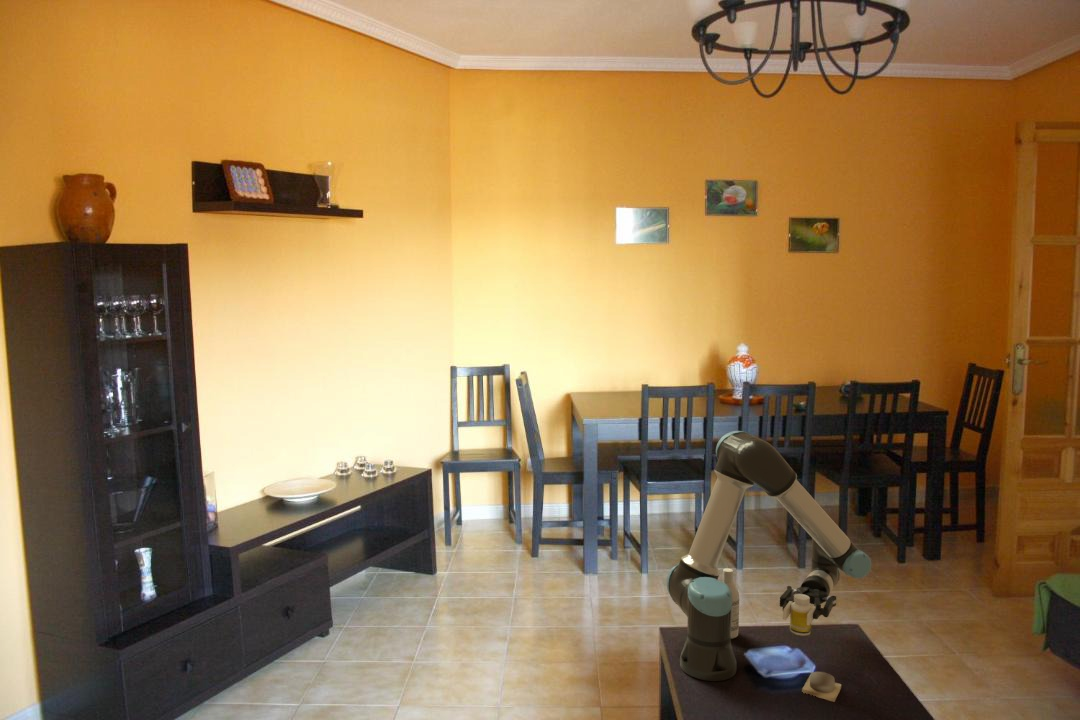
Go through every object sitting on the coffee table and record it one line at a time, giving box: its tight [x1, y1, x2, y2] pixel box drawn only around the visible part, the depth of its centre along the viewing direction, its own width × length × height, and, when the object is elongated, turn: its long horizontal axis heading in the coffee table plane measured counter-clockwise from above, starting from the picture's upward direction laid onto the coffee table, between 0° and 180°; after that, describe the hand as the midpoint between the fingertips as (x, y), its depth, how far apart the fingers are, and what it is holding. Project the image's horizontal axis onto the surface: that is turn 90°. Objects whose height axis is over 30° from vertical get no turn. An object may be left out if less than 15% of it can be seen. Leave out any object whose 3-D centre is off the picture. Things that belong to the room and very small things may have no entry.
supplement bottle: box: [789, 594, 813, 637], centre depth 206 cm, size 5×5×10 cm
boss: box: [801, 671, 842, 703], centre depth 199 cm, size 8×8×4 cm
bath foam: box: [721, 567, 740, 640], centre depth 229 cm, size 7×7×20 cm
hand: (796, 617), depth 201 cm, fingers closed on supplement bottle, 5 cm apart
